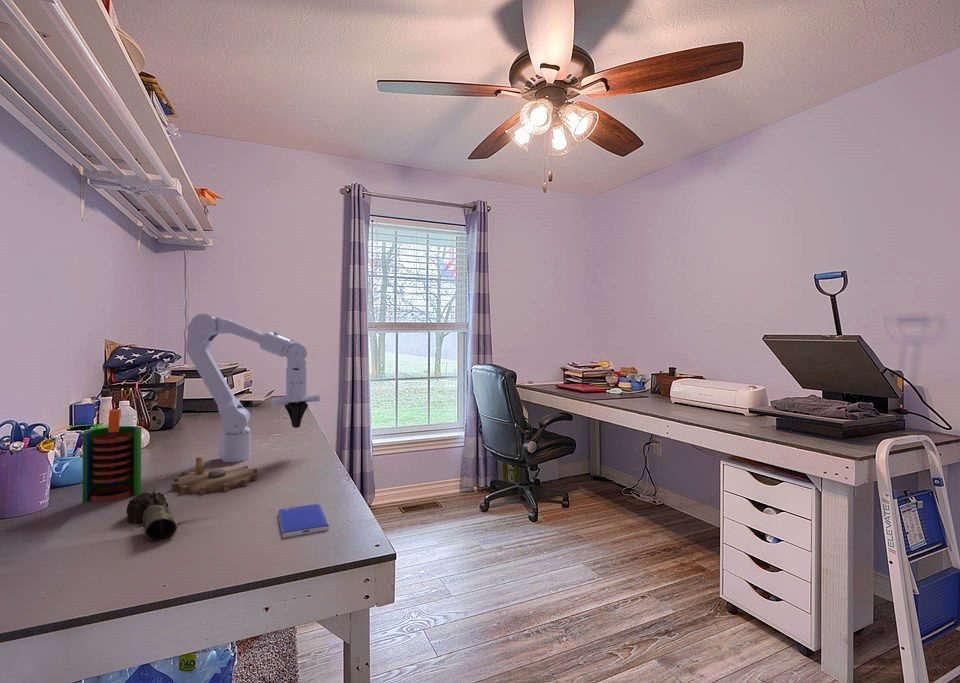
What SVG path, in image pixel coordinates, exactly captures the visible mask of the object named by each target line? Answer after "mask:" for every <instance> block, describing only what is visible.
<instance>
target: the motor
mask: <svg viewBox="0 0 960 683" xmlns="http://www.w3.org/2000/svg"><path fill="white" fill-rule="evenodd" d="M121 418H122V409H121V408H117V409H109V412H108V426H107V427H100V428H96V429H90V430H86V431H84V432H82V488H81V489H82V493H81V494H82V502H81V503H82V504H81V505H82V506H84V505H85V504H86V503H87V501H90V502H94V503H106V502H113V501H118V500H123V499H126V498H128V497H131V496H132V495H133V496H137V495H139V494H141V493H142V427H141V426H133V425H132V426H131V425H128V426H127V425H123V426H122V425H120V420H121ZM117 491H118V492H119V491H121V492H122V493H118V494H112V495H103V494H106V493H111V492H117ZM123 491H124V492H123ZM101 495H102V496H101Z"/></svg>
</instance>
